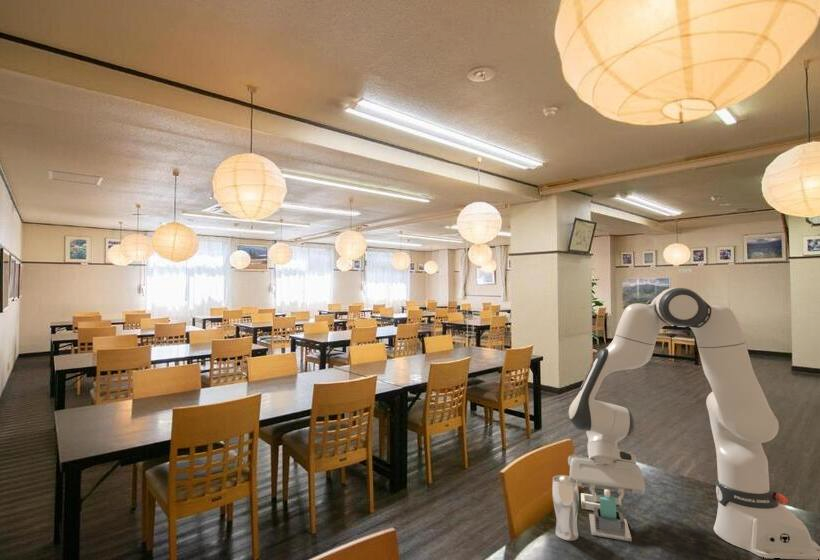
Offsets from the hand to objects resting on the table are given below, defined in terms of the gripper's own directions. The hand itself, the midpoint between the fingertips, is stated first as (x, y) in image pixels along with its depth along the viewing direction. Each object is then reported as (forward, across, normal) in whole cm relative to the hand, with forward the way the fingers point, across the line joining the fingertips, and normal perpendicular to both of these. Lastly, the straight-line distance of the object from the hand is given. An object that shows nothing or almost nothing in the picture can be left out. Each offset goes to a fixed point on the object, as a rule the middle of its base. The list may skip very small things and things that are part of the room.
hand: (607, 504), depth 117 cm
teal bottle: (+3, 0, +4) cm, 4 cm away
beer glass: (+10, -11, +1) cm, 15 cm away
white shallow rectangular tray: (-4, -3, +14) cm, 15 cm away
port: (+4, 0, +6) cm, 7 cm away
